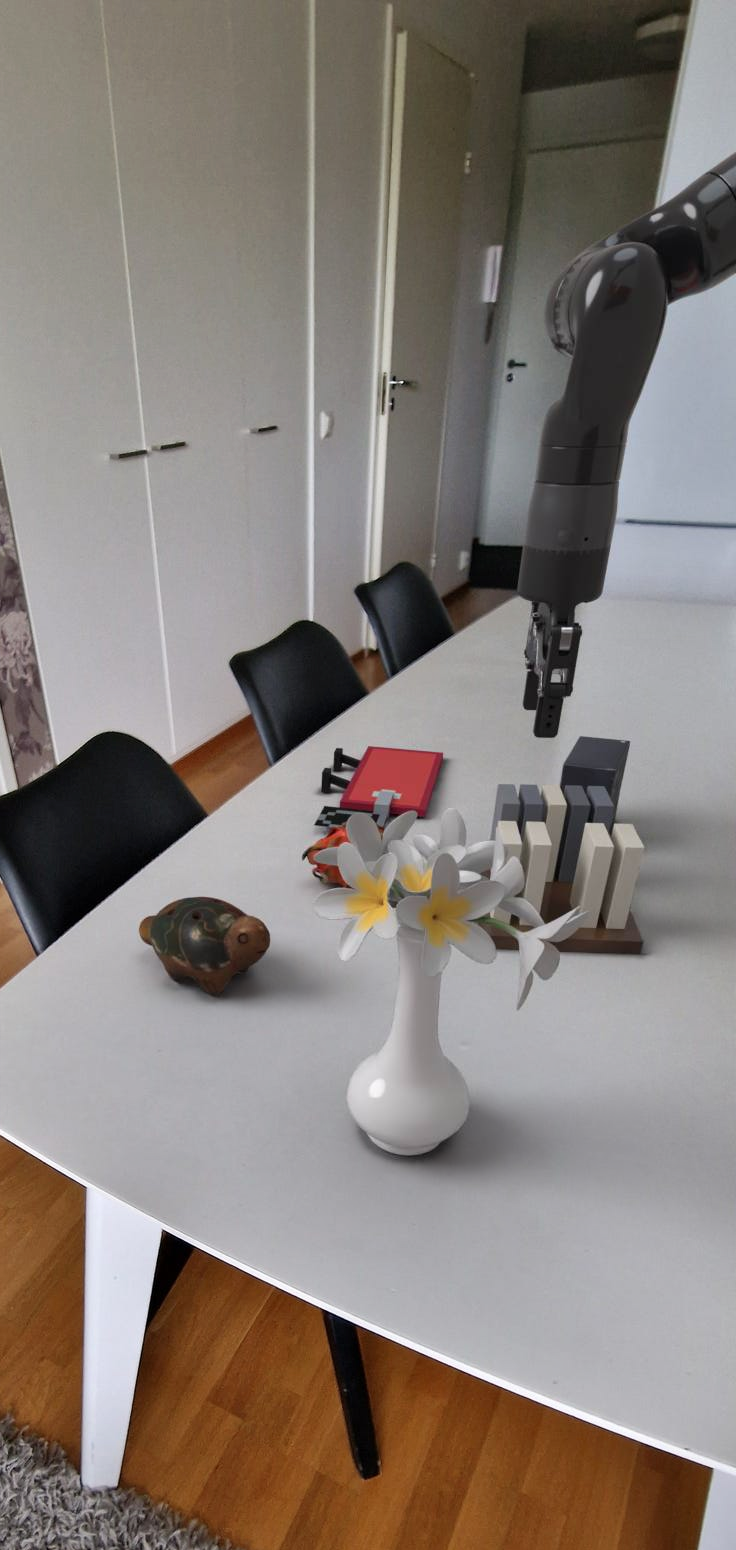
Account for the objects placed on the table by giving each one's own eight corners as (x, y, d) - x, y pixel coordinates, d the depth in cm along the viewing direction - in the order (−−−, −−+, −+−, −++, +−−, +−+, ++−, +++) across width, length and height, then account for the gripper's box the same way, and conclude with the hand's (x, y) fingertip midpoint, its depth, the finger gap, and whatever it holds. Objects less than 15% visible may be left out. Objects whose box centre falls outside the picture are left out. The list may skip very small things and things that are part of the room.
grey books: (588, 861, 106) (604, 785, 100) (597, 883, 101) (614, 805, 96) (487, 858, 107) (497, 783, 101) (491, 880, 102) (502, 803, 97)
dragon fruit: (411, 910, 103) (309, 911, 107) (418, 844, 106) (318, 846, 110) (398, 875, 96) (288, 876, 100) (406, 803, 98) (299, 808, 102)
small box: (563, 813, 120) (578, 733, 114) (615, 821, 118) (633, 739, 112) (546, 844, 113) (561, 761, 106) (601, 854, 110) (619, 769, 104)
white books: (614, 903, 97) (632, 823, 92) (624, 929, 93) (644, 847, 88) (487, 899, 99) (498, 820, 94) (491, 924, 94) (503, 843, 89)
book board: (603, 865, 108) (605, 853, 107) (640, 954, 92) (643, 941, 91) (464, 861, 110) (466, 849, 109) (477, 947, 94) (479, 935, 93)
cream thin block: (546, 860, 106) (559, 784, 101) (552, 882, 102) (567, 804, 96) (530, 859, 106) (542, 784, 101) (536, 881, 102) (549, 804, 97)
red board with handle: (299, 830, 117) (417, 843, 114) (299, 809, 115) (419, 822, 112) (343, 753, 140) (442, 761, 137) (344, 734, 139) (444, 743, 136)
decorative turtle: (251, 1018, 85) (241, 944, 80) (119, 986, 91) (103, 916, 87) (299, 964, 91) (293, 892, 86) (173, 937, 98) (160, 869, 93)
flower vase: (504, 1228, 64) (569, 910, 49) (271, 1141, 71) (266, 843, 56) (554, 1117, 73) (621, 820, 58) (342, 1050, 80) (354, 773, 66)
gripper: (627, 553, 76) (590, 747, 85) (596, 526, 87) (566, 701, 97) (534, 553, 76) (507, 746, 86) (515, 527, 88) (493, 700, 97)
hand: (538, 722), depth 91 cm, fingers open, 8 cm apart
